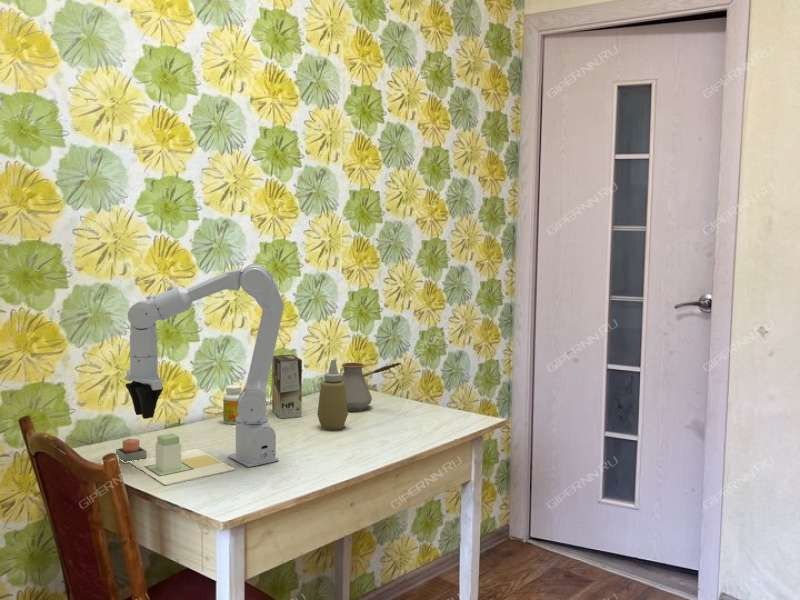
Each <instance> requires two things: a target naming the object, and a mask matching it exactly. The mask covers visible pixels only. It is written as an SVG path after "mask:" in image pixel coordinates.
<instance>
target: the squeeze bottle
mask: <svg viewBox="0 0 800 600" xmlns="http://www.w3.org/2000/svg"><path fill="white" fill-rule="evenodd" d="M342 375H343V373H341V372H339V369H338V365H337V360H336V359H331V360H330V364H329V368H328V372H326V373H324V375H323V376H324V378H323V379H324V381H322V382H321V383H320V389H319V395H318V396H319V398H318V407H317V414H316V415H317V418H318V421H319V424H320V427H321V428H322V429H323V430H327V431H328V430H329V431H336V430H340V429H343V428H344V427H345V425H346V424H345V423H346V422H347V419H348V418H347V417H348V416H349V415H348V412H349V411H347V400H346V387H345V383H344V382H343V381H341V380H342Z"/></svg>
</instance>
